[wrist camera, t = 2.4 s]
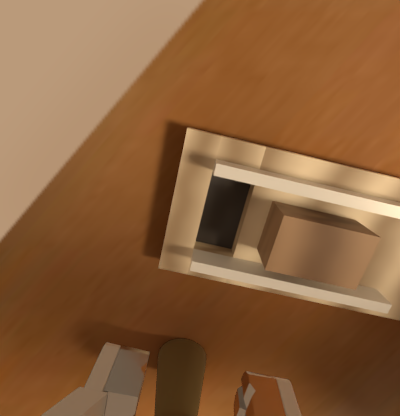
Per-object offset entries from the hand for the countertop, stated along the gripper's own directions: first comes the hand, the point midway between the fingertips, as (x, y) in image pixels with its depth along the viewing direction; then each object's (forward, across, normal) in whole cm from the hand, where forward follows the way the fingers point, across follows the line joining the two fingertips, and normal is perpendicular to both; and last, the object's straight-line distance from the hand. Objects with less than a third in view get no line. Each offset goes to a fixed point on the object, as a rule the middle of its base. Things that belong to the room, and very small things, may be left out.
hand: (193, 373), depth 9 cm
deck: (+19, -14, 0) cm, 24 cm away
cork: (+19, -2, +20) cm, 28 cm away
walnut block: (+17, -10, 0) cm, 20 cm away
